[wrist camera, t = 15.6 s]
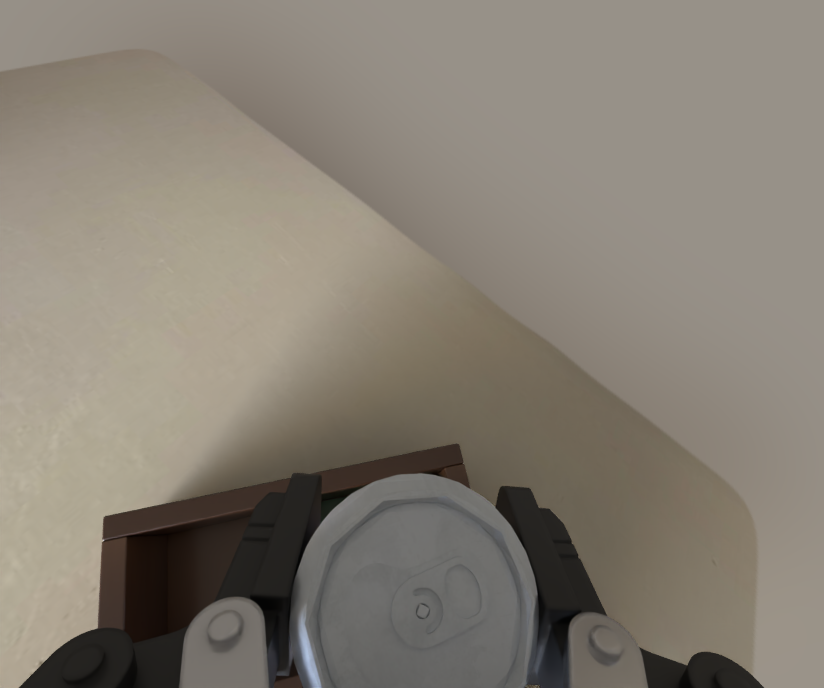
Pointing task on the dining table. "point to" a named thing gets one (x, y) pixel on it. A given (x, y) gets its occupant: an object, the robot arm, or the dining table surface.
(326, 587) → the beer can
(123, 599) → the compartment tray
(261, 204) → the dining table surface
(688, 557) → the dining table surface
